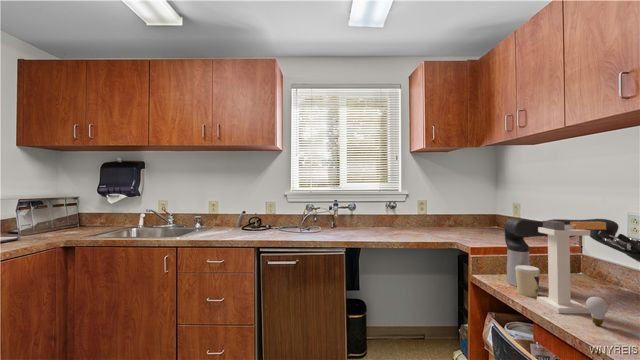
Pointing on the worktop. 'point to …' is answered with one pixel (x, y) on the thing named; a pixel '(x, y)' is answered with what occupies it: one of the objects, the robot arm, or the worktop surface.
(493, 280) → the worktop surface
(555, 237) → the white pedestal stand
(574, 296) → the worktop surface
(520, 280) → the coffee cup
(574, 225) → the putter
